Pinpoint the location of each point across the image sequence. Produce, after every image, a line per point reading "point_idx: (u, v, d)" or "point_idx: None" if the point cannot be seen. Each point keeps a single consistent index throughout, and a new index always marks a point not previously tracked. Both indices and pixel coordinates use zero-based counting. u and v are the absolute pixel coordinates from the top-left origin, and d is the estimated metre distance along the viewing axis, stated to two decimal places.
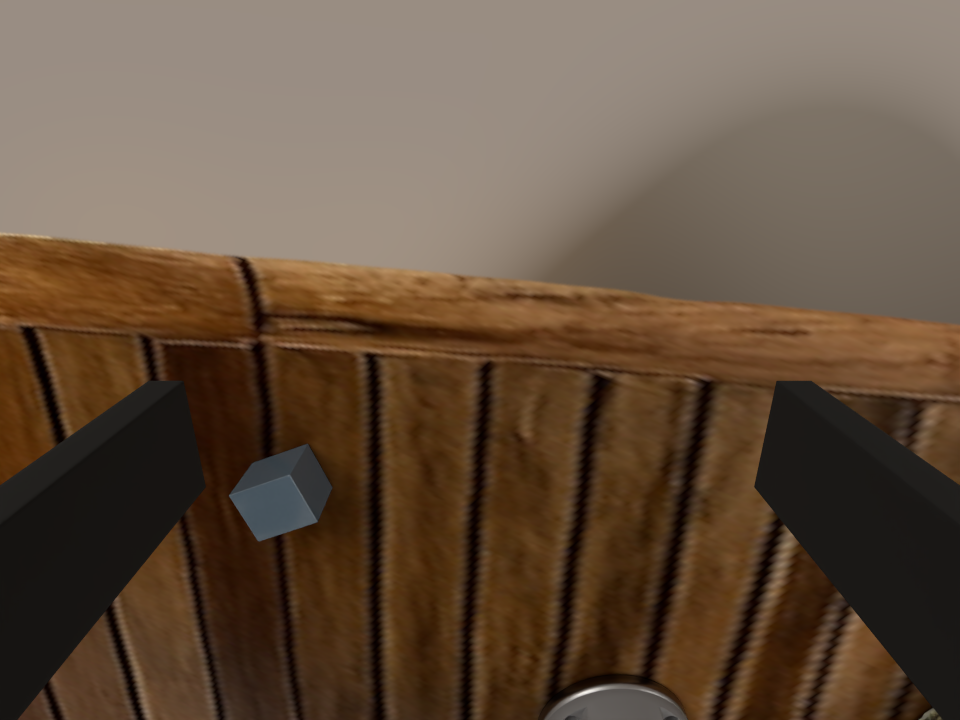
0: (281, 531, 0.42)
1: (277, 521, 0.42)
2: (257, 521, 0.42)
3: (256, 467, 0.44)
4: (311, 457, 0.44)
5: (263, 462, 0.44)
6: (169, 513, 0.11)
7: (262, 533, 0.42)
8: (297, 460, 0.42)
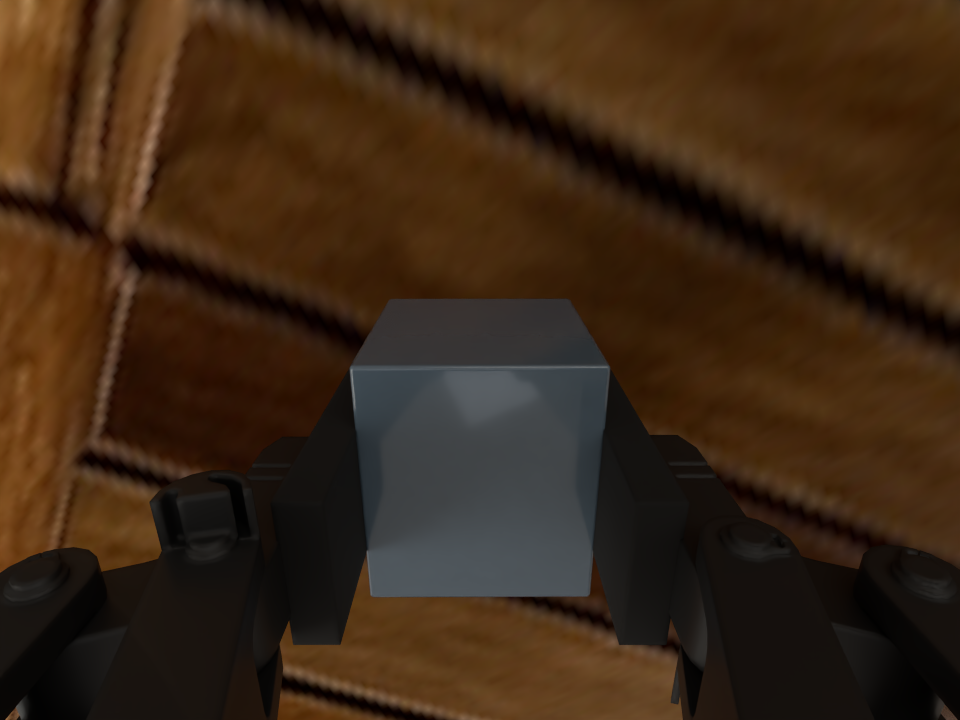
0: (584, 509, 0.10)
1: (537, 504, 0.10)
2: (508, 563, 0.11)
3: None
4: (425, 306, 0.13)
5: None
6: None
7: (563, 571, 0.11)
8: (370, 332, 0.11)
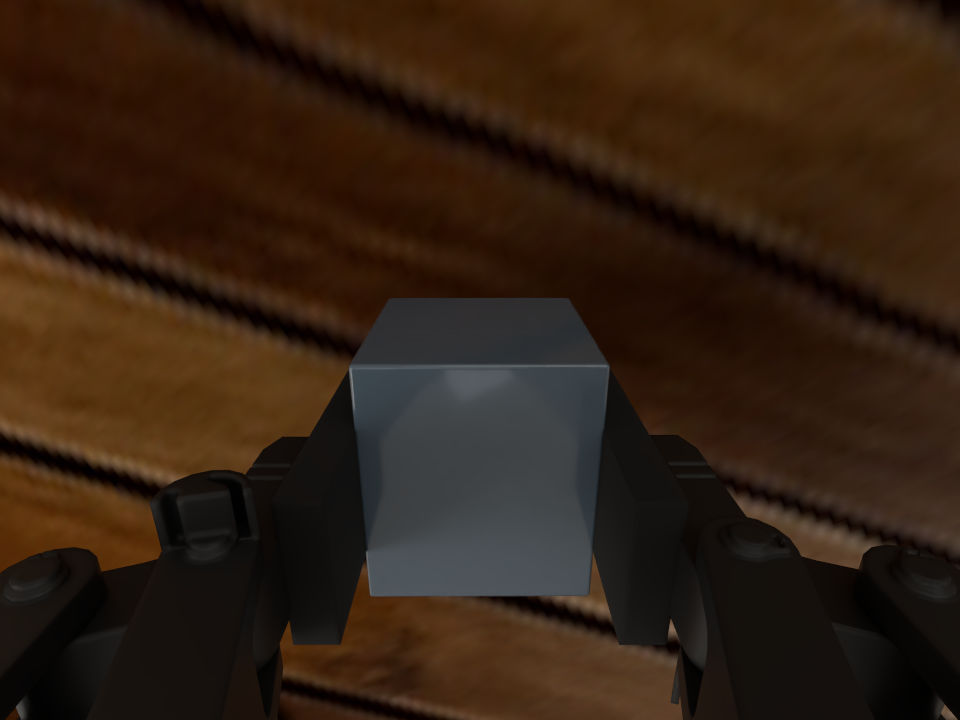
0: (584, 508, 0.10)
1: (537, 504, 0.10)
2: (507, 562, 0.11)
3: None
4: (424, 305, 0.13)
5: None
6: None
7: (563, 570, 0.11)
8: (370, 331, 0.11)
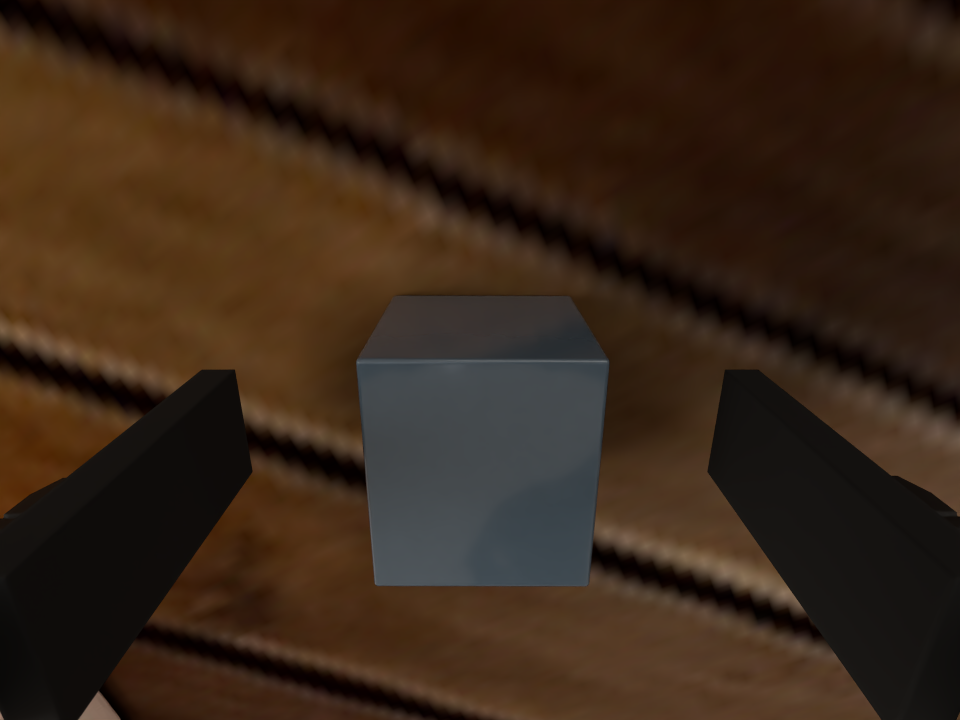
0: (584, 500, 0.11)
1: (538, 496, 0.11)
2: (509, 553, 0.11)
3: None
4: (428, 302, 0.13)
5: None
6: (223, 494, 0.12)
7: (563, 561, 0.11)
8: (375, 327, 0.12)
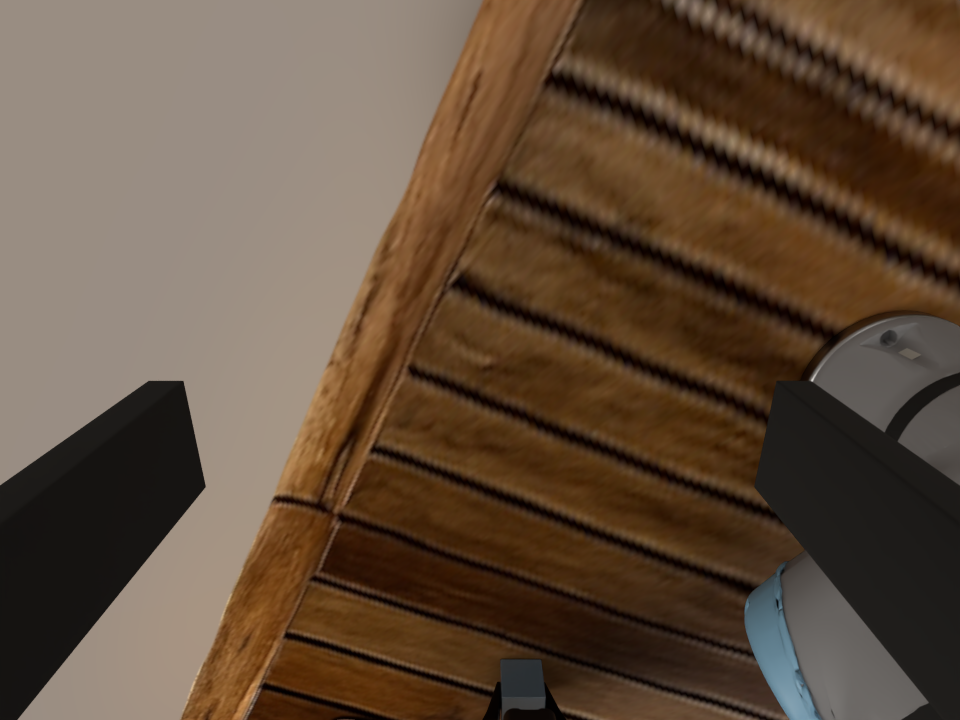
0: None
1: None
2: None
3: None
4: (509, 664, 0.60)
5: None
6: (168, 513, 0.11)
7: None
8: (501, 680, 0.58)
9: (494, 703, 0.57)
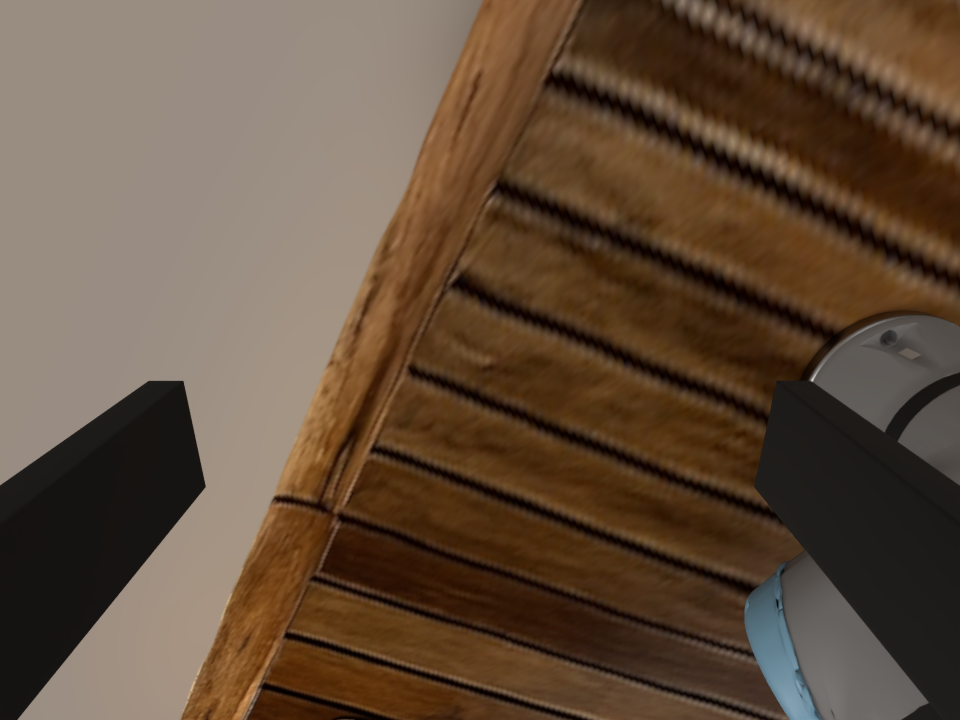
0: None
1: None
2: None
3: None
4: None
5: None
6: (168, 513, 0.11)
7: None
8: None
9: None
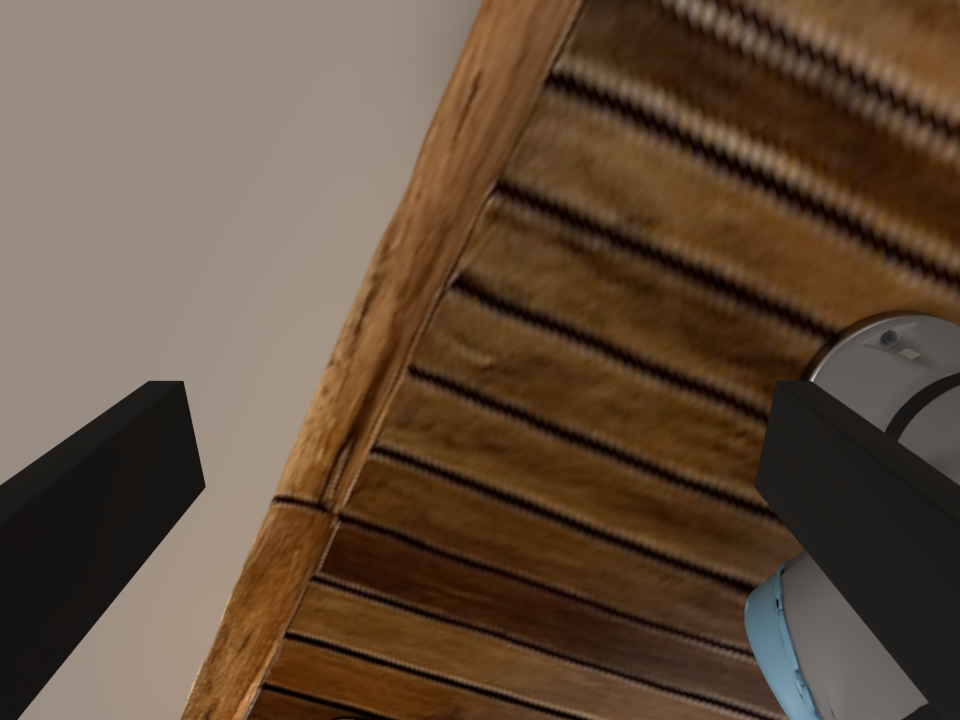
0: None
1: None
2: None
3: None
4: None
5: None
6: (168, 513, 0.11)
7: None
8: None
9: None
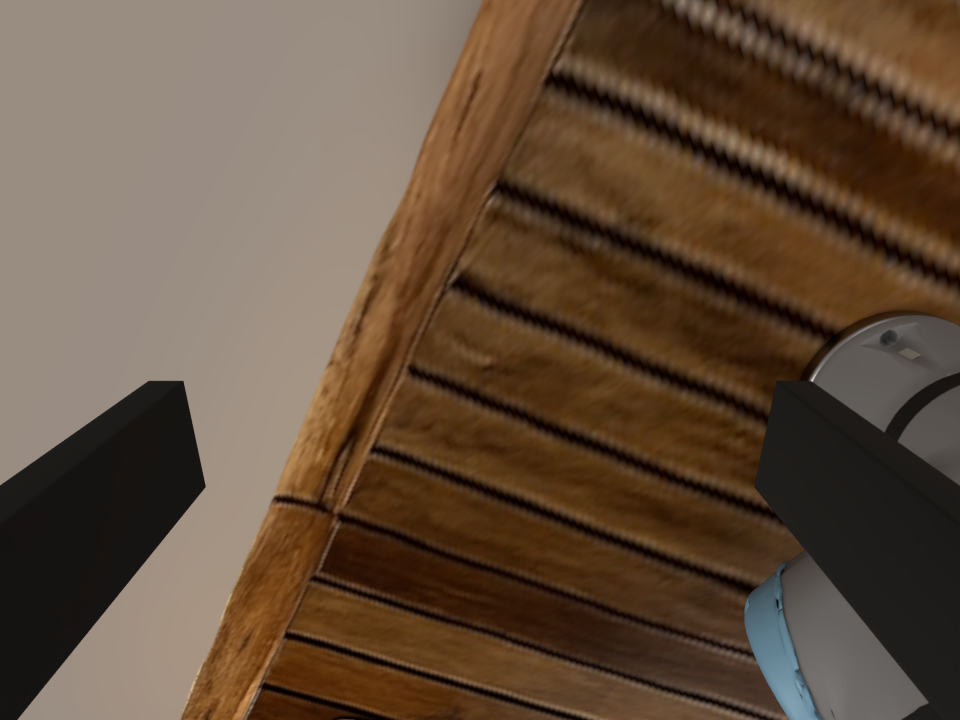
0: None
1: None
2: None
3: None
4: None
5: None
6: (168, 513, 0.11)
7: None
8: None
9: None
